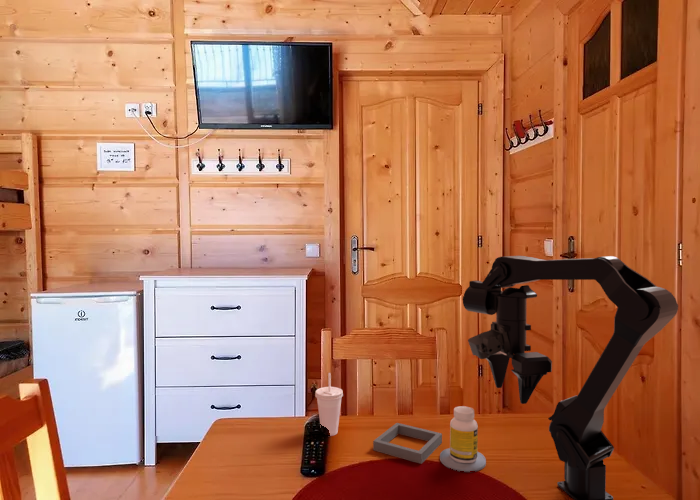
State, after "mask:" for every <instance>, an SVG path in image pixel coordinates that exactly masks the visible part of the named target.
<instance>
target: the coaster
mask: <svg viewBox="0 0 700 500" xmlns="http://www.w3.org/2000/svg"><path fill="white" fill-rule="evenodd" d="M439 461H440V464H442V465H443V466H444V467H446V468H447V469H450V468H451V469H450V470H452V469H453V470H452V471H456V470H457V471H456V472H460V471H464V472H463V473H471V472H470V471H475V472H478V471H481V470H483V469H484V468H485V467H486V466H487V459H486V457H485V456H484V454H483V453H481V452H479V451H478V450H477V460H476V461H475V462H473V463H459V462H456V461H454V460H453V459H452V458H451V457H450V447H449V448H445V449H443V450H442V451H441V452H440V454H439Z"/></svg>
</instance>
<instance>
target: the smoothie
mask: <svg viewBox="0 0 700 500" xmlns="http://www.w3.org/2000/svg"><path fill="white" fill-rule="evenodd" d="M331 374H332V373H331V372H328V374H327V375H328V378H327V380H328V381H327V382H328V386H324V387H323V386H322V387H320V388H317V389H316V390H315V393H314V394H315V395H314V396H315V398H316V399H317V400H316V402H317V409H318V416H319V423H320V424H321V425H322V426H324V427H326V428H327V429H328V430H329V433H330V436H329V437H333V436H335V435H337V434H338V431H339V423H340V413H341V404H342V397H344V393H343V389H342V388H340V387H336V386H332V380H331V379H332V375H331ZM321 425H320V426H321Z"/></svg>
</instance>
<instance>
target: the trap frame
mask: <svg viewBox="0 0 700 500" xmlns="http://www.w3.org/2000/svg"><path fill="white" fill-rule="evenodd" d="M398 435H402V436H407V437H410V438H414V439H419V440H422V441H427V442H426V443H425V444H424V445H423V446H422V447H421V448H420V449H419V450H417V449H414V448H410V447H406V446H402V445H399V444H396V443H391V441H392V440H394V438H396V437H397V436H398ZM442 443H443V433H441V432H438V431H437V432H436V431H433V430H428V429H425V428H420V427H417V426H412V425H408V424H404V423H399V422H396V423H394V424H393V425H392V426H390V427H389V428H388V429H387V430H386V431H384V432H383V433H381V435H379V436H378V437H376V438H375V439H373V442H372V444H373V445H372V446H373V447H372V448H373V450H372V451H374V452H378V453H382V454H386V455H389V456H392V457H396V458H399V459H402V460H403V459H404V460H407V461H410V462H413V463H417V464H421V465H422V464H423V463H424V462H425V461H426V460H427V459H428V458H429V457H431V455H432V453H433V452H435V451H436V449H437V448H439V446H440V445H441V444H442Z"/></svg>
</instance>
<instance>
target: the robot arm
mask: <svg viewBox="0 0 700 500" xmlns="http://www.w3.org/2000/svg"><path fill="white" fill-rule="evenodd" d="M543 280H544V281H546V280H548V281H549V280H550V281H551V280H553V281H554V280H559V281H570V280H573V281H575V280H577V281H578V280H580V281H583V280H584V281H585V280H586V281H587V280H588V281H591V280H594V281H596V282H597V283H598V284H599V286H600V287H601V288H602V290H603V292H604V294H605V295H606V297H607V298H608V299H609V300H610V301H611V302H612V303H613V304H614V305H615V307H617V309H616V311H615V315H614V320H613V325H614V326H613V333H612V336H611V337H610V339H609V341H608V343H607V344H606V345H605V347H604V349H603V351H602V353H601V355H600V356H599V358H598V359H597V361H596V363H595V365H594V367H593V368H592V370H591V372H590V373H589V374H588V377H587V379H586V381H585V382H584V384H583V385H582V388H581V389H580V391H579V393H578V394H577V395H576V394H575V395H574V396H571V397H568V398H566V399H562V400H560V401H558V402H557V404H556V406H555V409H554V412H553V414H552V415H550V416H548V420H549V421H550V423H549V427H548V432H549V433H550V435H551V438H552V439H553V443H554V447H555V449H556V453H557V456H558V460H559V461H561V462H564V469H563V470H564V477H563V478H564V480H563V481H557V482H556V483H557V485H556V486H557V487H559V488H560V489H562V491H564V493H566V494H567V495H568V496H570V497H571V498H572V499H573V500H614V496H613V495H611V494H610V493H608V491H606V485H607V484H606V483H607V482H606V474H607V473H606V472H607V470H606V468H607V467H606V465H605V464H604V460H605V459H607V458H610V457H611V456H612V454H613V452H614V450H615V446H614V445H613V444H612V442H611V441H610V440H609V438H607V436H606V435H605V433H604V432H603V430H602V427H603V426H604V423H605V417H604V416H605V409H606V407H607V405H608V403H609V402H610V400H611V398H612V397H613V395H614V394H615V392H616V390H618V387H619V386H620V385H621V383H622V381H623V379H624V378H625V377H626V375H627V373H628V371H629V370H630V368H631V366H633V363H634V362H635V360H636V358H637V356H638V355H639V354H640V352H641V351H642V349H643V347H644V346H645V344H646V343H647V342H649V341H650V340H651V339H653V338H654V337H655V336H656V335H658V333H660V332H661V331H662V330H663V329H664V328H665V327H666V326H667V325H668V324H669V323H671V321H672V320H673V319H674V318H675V316H676V315H677V313H678V311H679V304H678V302H677V299H676V297H675V296H674V294H672V292H671V291H669V290H668V289H666V288H663V287H660V286H657V285H656V284H655V283H653V282H652V280H649V279H648V278H647V277H645V276H643V274H641V273H639V272H637V271H636V270H634V269H632V268H631V267H629V266H628V265H627V264H626V263H624V261H623V260H621V259H620V258H618V257H616V256H613V255H609V256H608V255H607V256H597V257H592V258H568V259H566V258H565V259H541V258H537V257H532V256H525V255H507V256H506V255H505V256H499V257H496V258H495V259H494V261H493V263H492V266H491V269H490V271H489V272H488V274H487V275H486V276H485V278H484V279H483V281H481V280H470V281H469V286H468V287H466V289H465V291H464V293H463V296H462V305H463V307H464V308H465V310H466V311H468V312H471V313H472V312H473V313H478V314H483V315H484V314H485V315H489V316H493V315H495V316H496V317H495V318H496V319H495V320H496V321H492V322H491V323H490V329H489V330H487V331H484V332H481V333H479V334H477V335H474V336H472V337H470V338H468V339H467V343H468V345H469V347H470V350H471V353H472V355H473V356H476V357H477V358H479V360H480V359H481V360H486V361H487V362H488V365H489V368H490V370H491V371H490V372H491V374H492V378H493V381H494V385H495V388H496V389H502V387H503V384H504V382H505V378H506V375H507V374H506V373H507V370H508V366H509V362H510V359H511V365H512V368H513V369H511V372H512V373H513V374H514V375H515V376H516V377H517V383H518V393H519V394H518V396H519V401H520V404H522V405H527V403H528V401H529V400H530V398H531V396H532V394H533V393H534V391H535V389H536V387H537V386H538V384H539V383H540V381H541V379H542V378H543V377H544V376H547V375H548V373H552V371H553V361H552V360H551V358H550V357H549V356H547V355H545V354H542V353H540V352H538V351H533V352H532V351H531V350H532V349H531V348H532V347H531V345H529V344H527V331H531V330H532V324H529V323H527V304H528V303H527V300H528V299H534V298H537V297H538V294H537V293H536V292H535V291H534V290H533V289H532V288H531V287H530V285H529V284H528V283H533V282H537V281H543ZM520 284H522V285H521V286H520V287H514V286H515V285H520ZM524 284H526V285H524ZM504 288H505V289H504ZM502 289H504V290H502ZM530 351H531V352H530Z"/></svg>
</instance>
